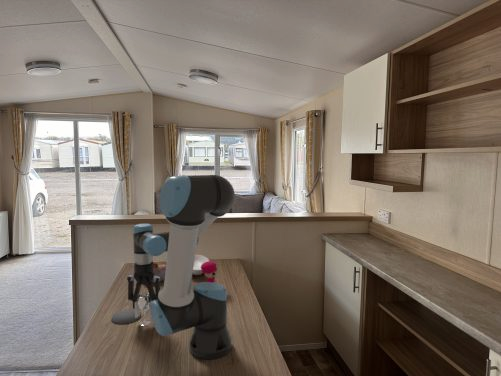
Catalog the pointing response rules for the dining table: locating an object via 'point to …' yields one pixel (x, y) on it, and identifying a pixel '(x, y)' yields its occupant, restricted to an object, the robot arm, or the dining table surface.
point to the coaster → (125, 317)
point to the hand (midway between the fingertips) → (144, 316)
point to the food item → (159, 271)
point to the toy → (209, 270)
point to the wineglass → (144, 306)
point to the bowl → (198, 264)
